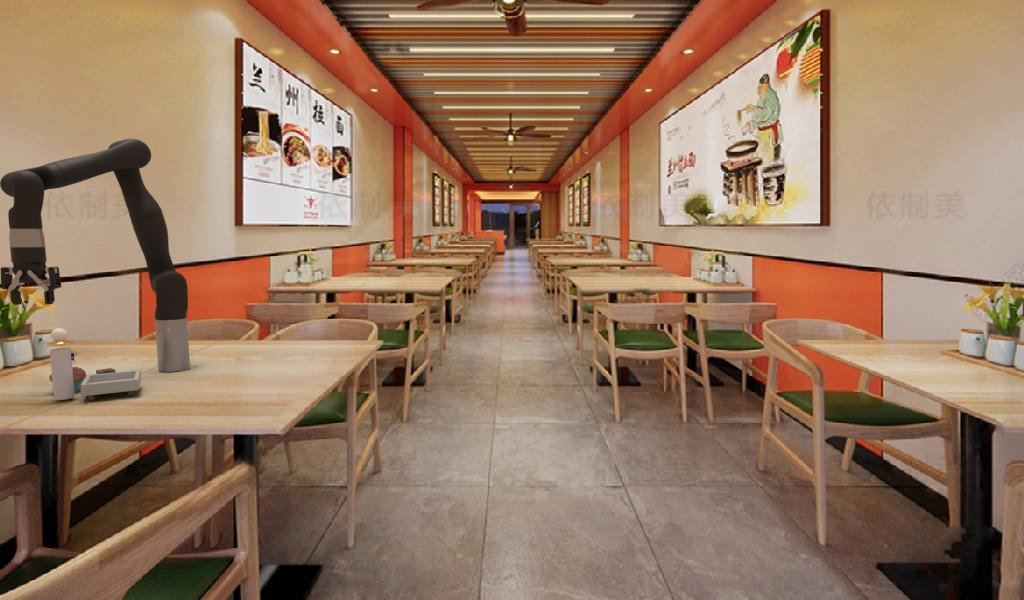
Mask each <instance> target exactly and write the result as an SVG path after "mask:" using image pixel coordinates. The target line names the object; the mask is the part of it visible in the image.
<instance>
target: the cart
mask: <svg viewBox="0 0 1024 600" xmlns="http://www.w3.org/2000/svg"><path fill="white" fill-rule="evenodd" d="M141 375H142V374H141V369H139V370H138V369H137V370H128V371H127V370H126V371H116V372H115V373H104V374H96V373H95V374H86V377H85V379H84V380H83V382H82V384H81V385H80V386H81V389H80V394H81V396H80V397H87V396H88V402H93V401H95V400H96V395H104V394H105V395H106V394H115V393H123V392H127V394H128V397H134V396H135V391H140V386H141V384H142V383H141V382H142V376H141Z"/></svg>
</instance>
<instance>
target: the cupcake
mask: <svg viewBox="0 0 1024 600" xmlns="http://www.w3.org/2000/svg"><path fill="white" fill-rule="evenodd" d="M71 357H73V356H71ZM72 369H73V381H74V393H78V392H79V391H80V392H81V386H80V385H81V384H82V382H83V380H84V379H85V377H86V376H87V373H86V370H84V369H83V368H81V367H79V366H72ZM48 379H49V381H50V382H51V383H52V373H51V374H49V377H48Z"/></svg>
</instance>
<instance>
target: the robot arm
mask: <svg viewBox="0 0 1024 600" xmlns="http://www.w3.org/2000/svg"><path fill="white" fill-rule="evenodd" d="M151 159H152V151H151V149H150V148H149V146H148V145H147V143H145V142H143V141H142V140H140V139H136V138H126V139H122V140H117V141H114V142H112V143H111V144H110V145H109V146H108V147H107V149H104V150H101V151H98V152H94V153H88V154H84V155H83V154H82V155H79V156H72V157H69V158H64V159H59V160H56V161H53V162H52V161H51V162H49V163H45V164H43V165H40V166H37V167H30V168H25V169H20V170H14V171H12V172H8V173H6V174H4V175H3V176H2V178H0V189H1V190H2V192H3V193H4V194H5V195H7V196H9V197H12V198H13V205H12V207H10V209H8V212H7V213H8V214H7V217H8V227H9V234H8V241H9V250H10V252H9V253H10V261H11V263H12V267H11V266H3V267H0V288H1V289H2V290H8V291H9V293H10V294H9V295H10V302H11V303H12V305H13V306H19V305H22V303H23V302H22V293H21V288H22V286H23V285H25V284H27V283H31V284H32V283H33V284H34V283H35V284H37V285H38V286H40V287H41V288H42V289H43V290H44V291H43V297H44V305H47V306H48V305H53V304H54V302H55V300H56V299H55V290H56V289H61V288H62V280H61V275H60V273H61V272H60V267H59V266H48V267H47V265H46V264H47V250H46V249H47V248H46V238H45V234H44V229H43V217H42V210H43V205H44V199H45V191H47V190H54V189H62V188H64V187H65V188H66V187H68V186H72V185H75V184H78V183H81V182H84V181H87V180H89V179H92V178H95V177H98V176H102V175H104V174H108V173H112V172H113V174H114V176H115V179H116V180H117V182H118V185H119V188H120V191H121V193H122V196H123V200H124V202H125V205H126V209H127V212H128V214H129V215H128V216H129V219H130V222H131V224H132V228H133V231H134V233H135V237H136V239H137V242H138V245H139V248H140V250H141V251H142V254H143V256H144V257H143V258H144V260H145V263H146V268H147V273H148V278H149V284H150V287H151V290H152V291H153V292H154V294H155V301H156V302H155V303H156V307H155V311H154V323H155V324H154V325H155V338H156V340H155V341H156V355H157V371H159V372H161V373H172V372H173V373H174V372H183V371H187V370H190V369H191V364H190V360H191V359H190V344H189V331H188V309H189V293H188V292H189V291H188V283H187V280H186V278H185V276H184V275H183V274H182V273H181V272H179V271H177V270H176V268H175V265H174V264H173V260H172V257H171V253H170V250H169V249H170V247H169V233H168V232H169V231H168V227H167V223H166V220H165V216H164V212H163V210H162V208H161V206H160V205H159V203H158V201H156V199H155V198H154V197H153V195H152V194H151V193H150V191H149V190H148V189H147V187H146V185H145V183H144V180H143V178H142V175H141V171H140V169H142V168H144V167H146V166H147V165H148V164H149V163H150V161H151ZM13 275H14V277H13ZM47 275H48V276H47Z"/></svg>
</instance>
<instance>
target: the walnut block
mask: <svg viewBox="0 0 1024 600" xmlns="http://www.w3.org/2000/svg"><path fill="white" fill-rule="evenodd" d="M115 372H117V371H116V369H114V368H112V367H109V368H108V367H107V368H100V369H95V374H104V373H115Z"/></svg>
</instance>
